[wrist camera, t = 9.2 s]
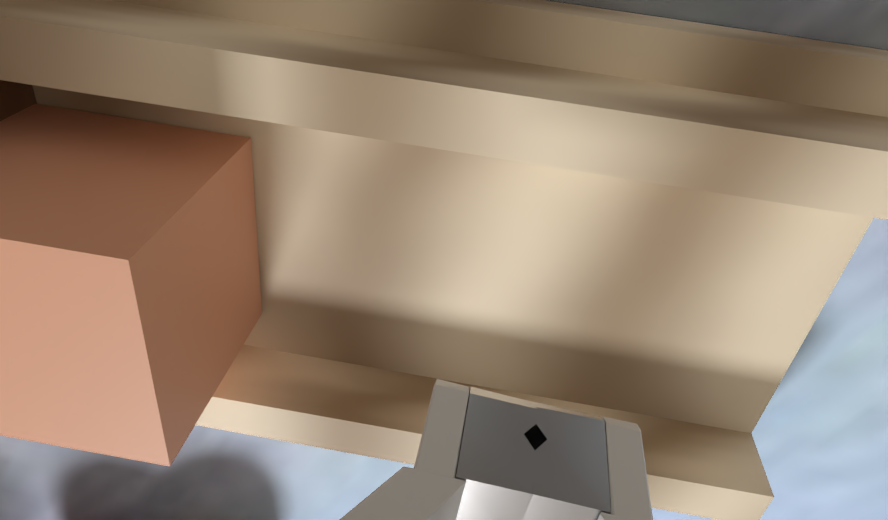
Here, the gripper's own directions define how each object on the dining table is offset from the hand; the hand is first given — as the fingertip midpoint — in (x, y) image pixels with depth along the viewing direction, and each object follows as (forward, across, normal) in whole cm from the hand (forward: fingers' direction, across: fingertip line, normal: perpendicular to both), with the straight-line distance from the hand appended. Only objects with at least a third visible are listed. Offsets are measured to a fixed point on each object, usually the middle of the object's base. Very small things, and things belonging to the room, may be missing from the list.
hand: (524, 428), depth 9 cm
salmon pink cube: (+6, +9, +2) cm, 11 cm away
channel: (+7, +3, +2) cm, 8 cm away
